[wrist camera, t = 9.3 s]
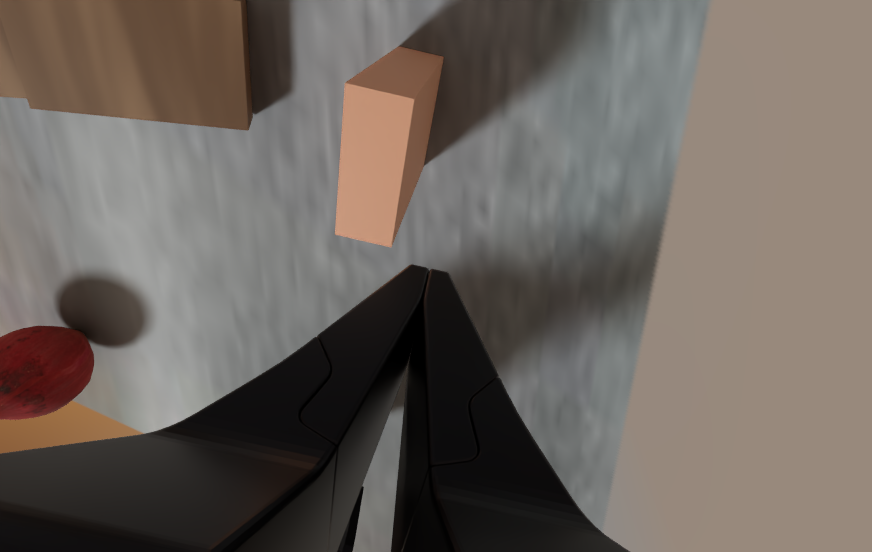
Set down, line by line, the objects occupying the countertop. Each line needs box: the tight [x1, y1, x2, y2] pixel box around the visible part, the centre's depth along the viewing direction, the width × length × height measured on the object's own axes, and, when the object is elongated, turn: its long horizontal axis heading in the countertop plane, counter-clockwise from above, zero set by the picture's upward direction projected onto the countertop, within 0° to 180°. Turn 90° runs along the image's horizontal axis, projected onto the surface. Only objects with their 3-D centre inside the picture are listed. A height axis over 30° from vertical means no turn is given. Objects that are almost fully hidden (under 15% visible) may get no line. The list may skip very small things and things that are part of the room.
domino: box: [0, 0, 253, 130], centre depth 18 cm, size 2×5×8 cm
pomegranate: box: [0, 326, 94, 420], centre depth 29 cm, size 6×6×8 cm
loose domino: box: [335, 46, 444, 247], centre depth 17 cm, size 2×5×8 cm, turn 169°
